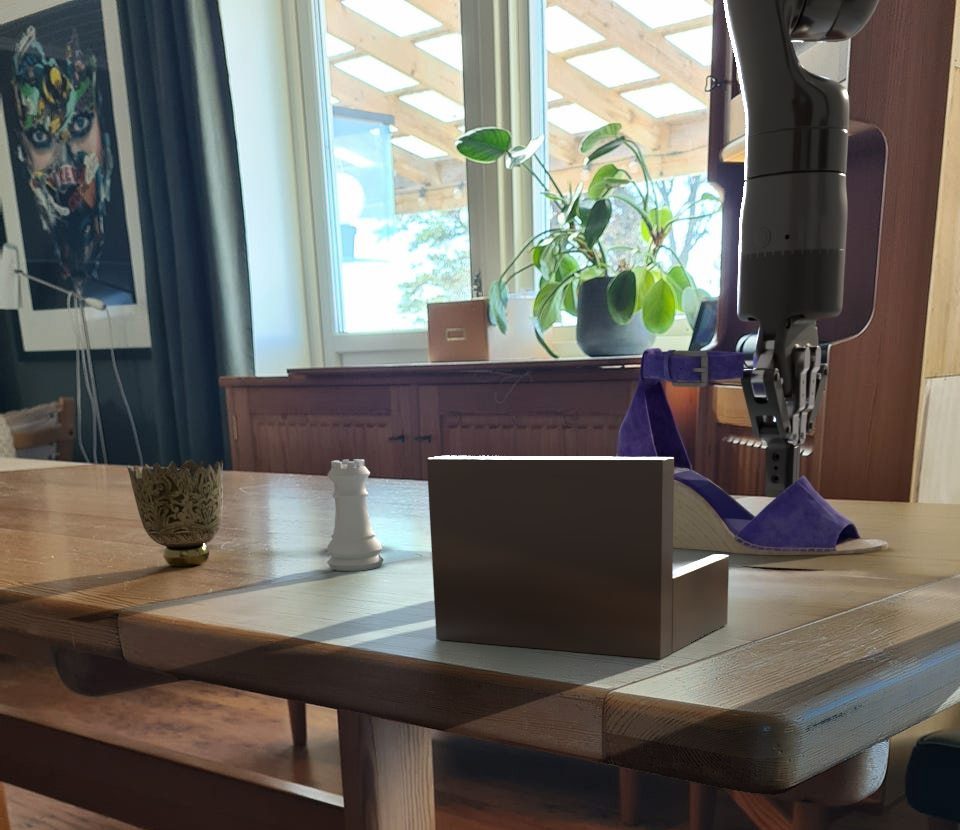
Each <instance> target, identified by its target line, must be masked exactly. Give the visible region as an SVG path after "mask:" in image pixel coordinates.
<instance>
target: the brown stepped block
mask: <svg viewBox="0 0 960 830" xmlns="http://www.w3.org/2000/svg"><path fill="white" fill-rule="evenodd" d="M426 471H427V490H428V491H427V493H428V508H429V525H430V526H429V527H430V528H429V529H430V530H429V531H430V546H431V564H432V565H431V566H432V581H433V583H432V584H433V602H434V622H435V639H436V640H439V641H449V642H450V641H451V642H453V641H454V642H462V643H474V644H485V645H495V646H505V647H517V648H527V649H528V648H529V649H539V650H549V651H550V650H552V651H562V652H573V653H574V652H575V653H583V654H585V653H586V654H595V655H605V656H606V655H608V656H616V657H617V656H618V657H630V658H639V659H640V658H642V659H650V660H651V659H652V660H661V659H664V658H666V657H668V656H669V655H671V654H673V653H675V652H677V651H678V650H680V649H682V648H684V647H686V646H688V645H690V644H692V643H694V642H696V641H698V640H700V639H701V638H700V637H702V638H703V636H704V635H706V634H708V633H709V634H711V633H713V632H715V631H718V630H719V629H721V628H723V627H725V626H727V625H728V609H729V608H728V607H729V605H728V604H729V575H730V571H729V570H730V555H729V554H718V553H717V554H715V553H713V554H711V555H708V556H706V557H704V558H701V559H698V560H696V561H693V562H691V563H688V564H685V565H682V566H680V567H677V568H675V569H674V548H673V510H674V457H616V456H514V455H513V456H505V455H504V456H502V455H501V456H499V455H498V456H497V455H495V456H493V455H492V456H489V455H487V456H485V455H482V456H481V455H479V456H475V455H474V456H473V455H472V456H471V455H468V456H467V455H458V456H457V455H451V456H450V455H441V456H434V457H427V458H426ZM726 624H727V625H726ZM724 625H725V626H724ZM722 626H723V627H722ZM720 627H721V628H720ZM714 630H715V631H714ZM712 631H713V632H712ZM710 632H711V633H710ZM709 634H708V635H709ZM706 636H707V635H706ZM704 637H705V636H704ZM699 638H700V639H699ZM697 639H698V640H697ZM695 640H696V641H695ZM693 641H694V642H693ZM691 642H692V643H691Z"/></svg>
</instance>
